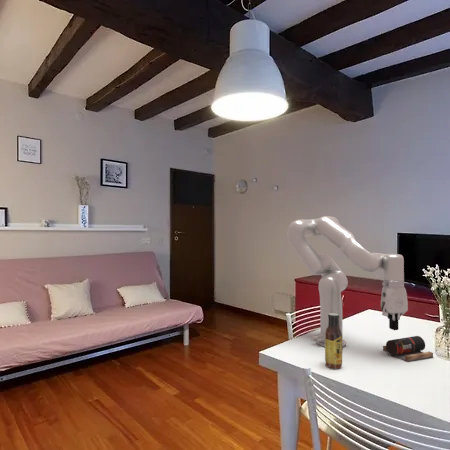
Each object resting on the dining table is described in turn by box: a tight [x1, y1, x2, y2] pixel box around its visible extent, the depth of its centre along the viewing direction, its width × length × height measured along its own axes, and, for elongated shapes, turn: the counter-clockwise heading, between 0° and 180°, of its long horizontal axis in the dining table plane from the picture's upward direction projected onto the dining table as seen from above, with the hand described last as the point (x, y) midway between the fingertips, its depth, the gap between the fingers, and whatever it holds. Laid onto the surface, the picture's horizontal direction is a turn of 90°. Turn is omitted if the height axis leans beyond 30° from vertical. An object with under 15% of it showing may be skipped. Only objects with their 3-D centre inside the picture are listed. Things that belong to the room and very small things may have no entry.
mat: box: [383, 350, 434, 363], centre depth 144 cm, size 13×13×1 cm
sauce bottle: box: [324, 313, 343, 370], centre depth 132 cm, size 7×6×20 cm
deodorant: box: [385, 335, 426, 356], centre depth 144 cm, size 6×6×15 cm
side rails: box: [382, 345, 434, 363], centre depth 144 cm, size 13×13×2 cm
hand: (393, 329), depth 141 cm, fingers closed
